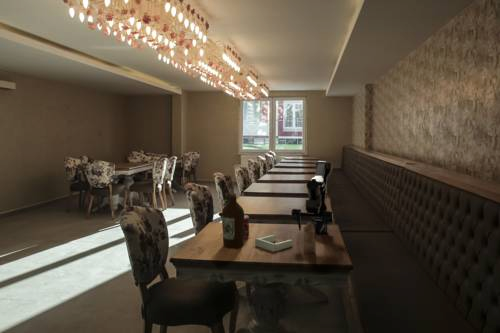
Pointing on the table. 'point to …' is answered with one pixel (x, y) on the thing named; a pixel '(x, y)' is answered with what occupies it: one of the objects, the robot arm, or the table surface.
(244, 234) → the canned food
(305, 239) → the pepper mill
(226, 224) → the olive oil
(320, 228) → the robot arm
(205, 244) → the table surface
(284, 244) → the pale green u-shaped block
